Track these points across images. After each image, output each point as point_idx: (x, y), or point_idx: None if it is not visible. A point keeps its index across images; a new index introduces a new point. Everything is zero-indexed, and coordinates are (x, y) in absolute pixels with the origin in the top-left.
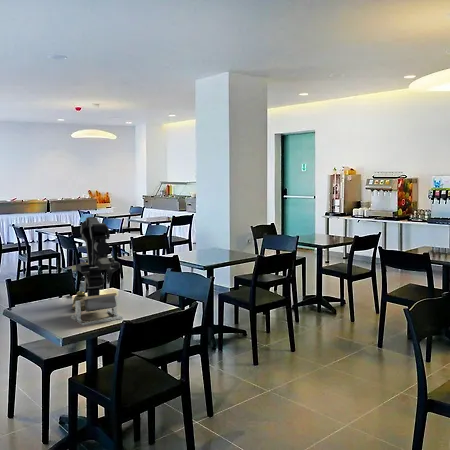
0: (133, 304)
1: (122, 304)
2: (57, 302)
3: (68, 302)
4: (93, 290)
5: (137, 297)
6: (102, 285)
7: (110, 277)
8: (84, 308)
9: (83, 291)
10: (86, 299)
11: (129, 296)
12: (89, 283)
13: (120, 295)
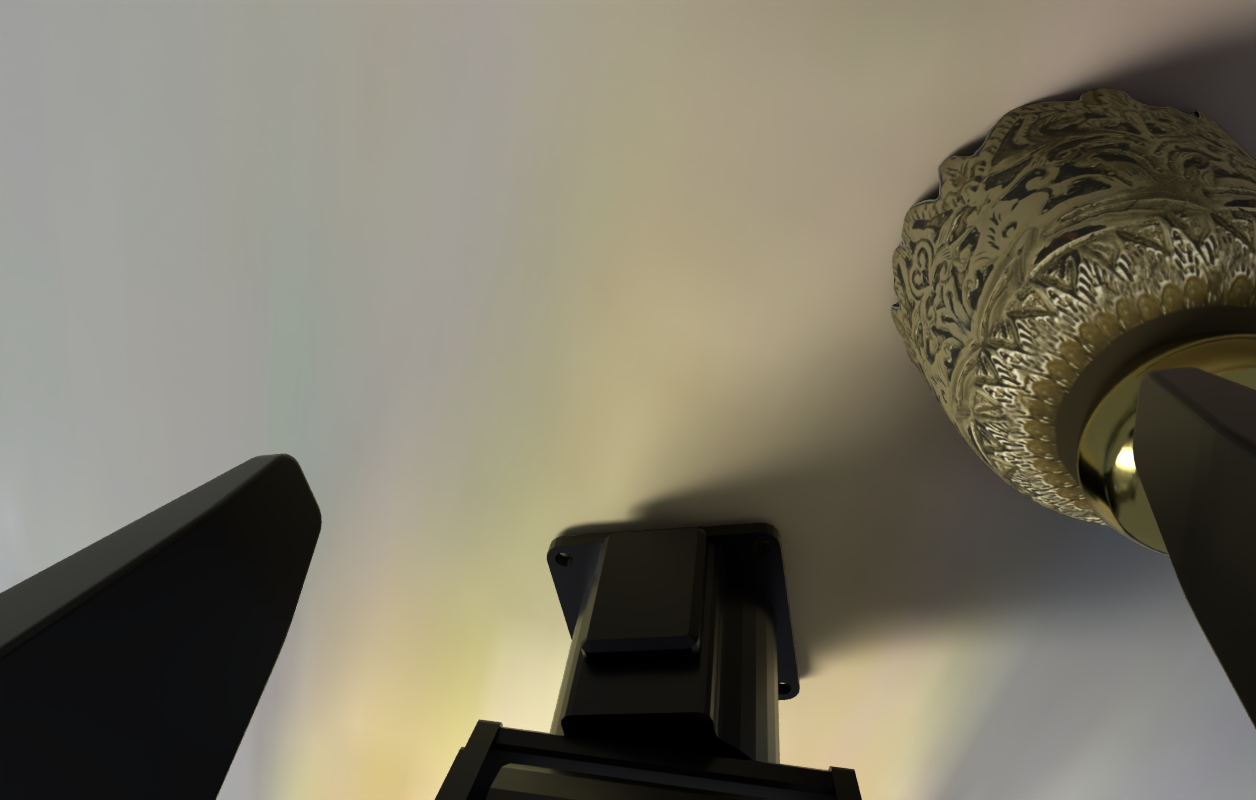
0: (25, 189)
1: (230, 268)
2: (1209, 758)
3: (1058, 701)
4: (693, 709)
5: (3, 555)
6: (471, 777)
7: (2, 605)
8: (1078, 110)
9: (1136, 496)
10: None
11: None
12: (1249, 412)
13: None
